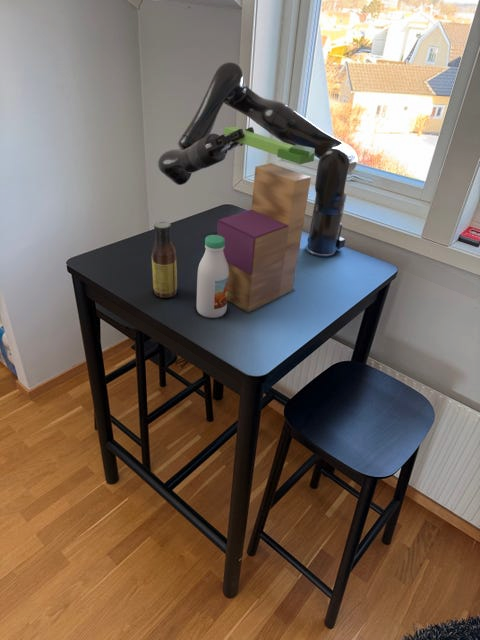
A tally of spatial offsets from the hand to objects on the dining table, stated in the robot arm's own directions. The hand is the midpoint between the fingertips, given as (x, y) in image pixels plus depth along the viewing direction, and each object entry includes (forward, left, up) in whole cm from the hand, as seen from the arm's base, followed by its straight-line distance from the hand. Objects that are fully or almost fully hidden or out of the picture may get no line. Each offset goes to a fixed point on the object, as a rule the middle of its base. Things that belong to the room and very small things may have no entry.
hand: (247, 132), depth 118 cm
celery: (-1, +6, -3) cm, 7 cm away
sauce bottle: (+26, +3, -39) cm, 47 cm away
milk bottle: (+19, +16, -39) cm, 46 cm away
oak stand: (+4, +14, -39) cm, 41 cm away
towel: (+7, +14, -28) cm, 32 cm away
